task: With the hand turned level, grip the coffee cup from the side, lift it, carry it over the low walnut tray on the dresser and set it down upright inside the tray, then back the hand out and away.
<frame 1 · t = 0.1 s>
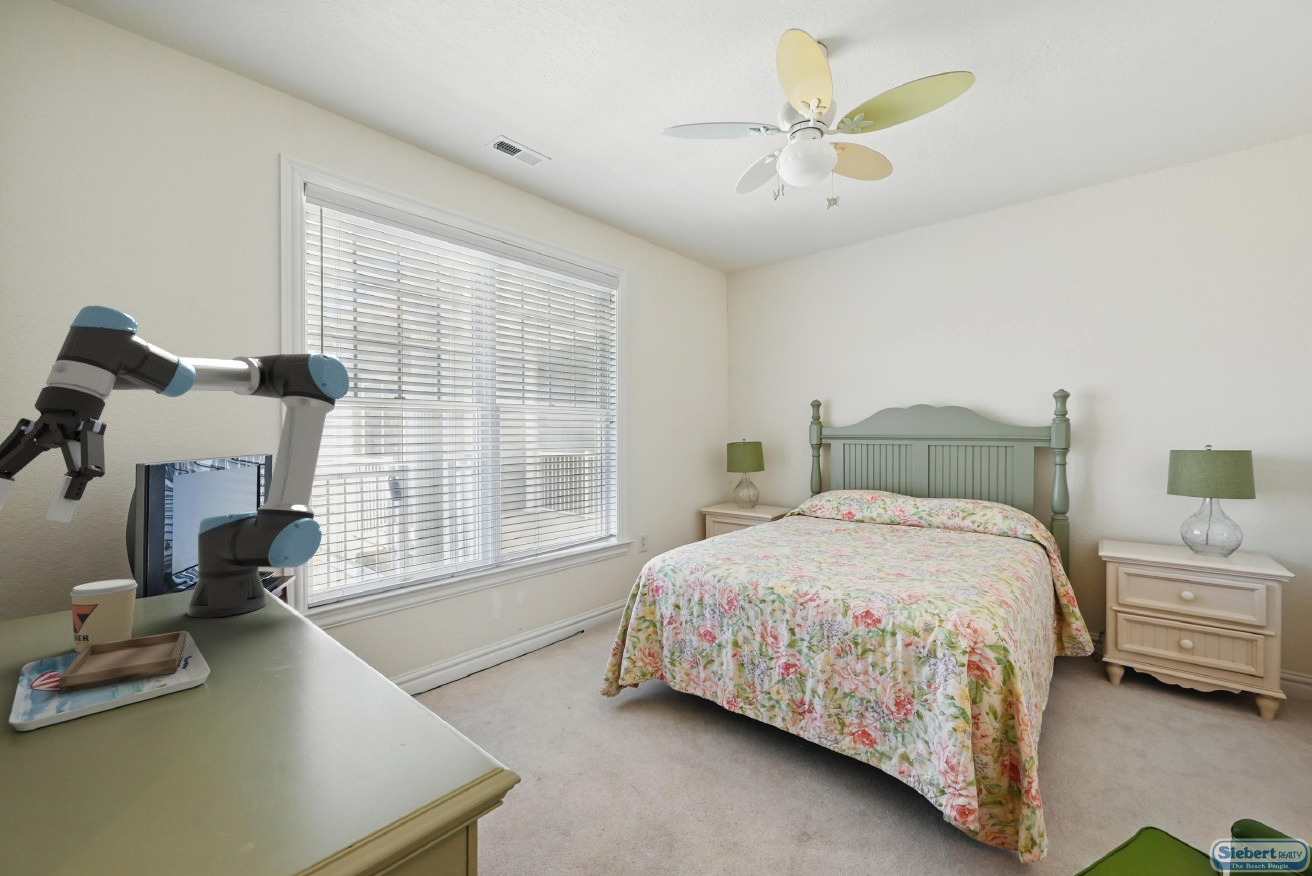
hand: (19, 520, 84), 28 cm above the dresser, tool tilted 20°, fingers open, 13 cm apart
coffee cup: (103, 646, 108), on the dresser
walnut tray: (129, 665, 98), on the dresser
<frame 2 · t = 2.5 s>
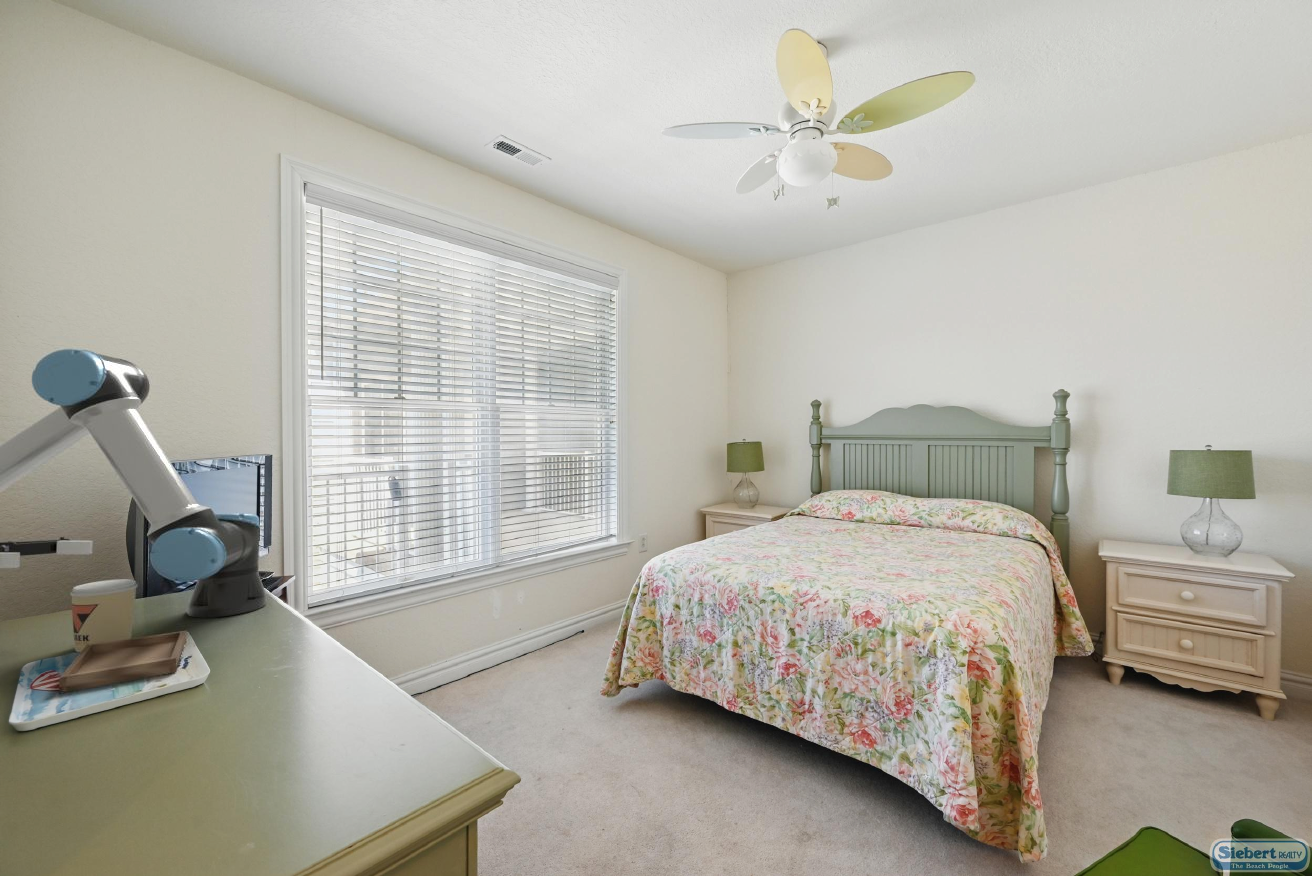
hand: (56, 553, 108), 18 cm above the dresser, tool horizontal, fingers open, 13 cm apart
nothing on the dresser moved.
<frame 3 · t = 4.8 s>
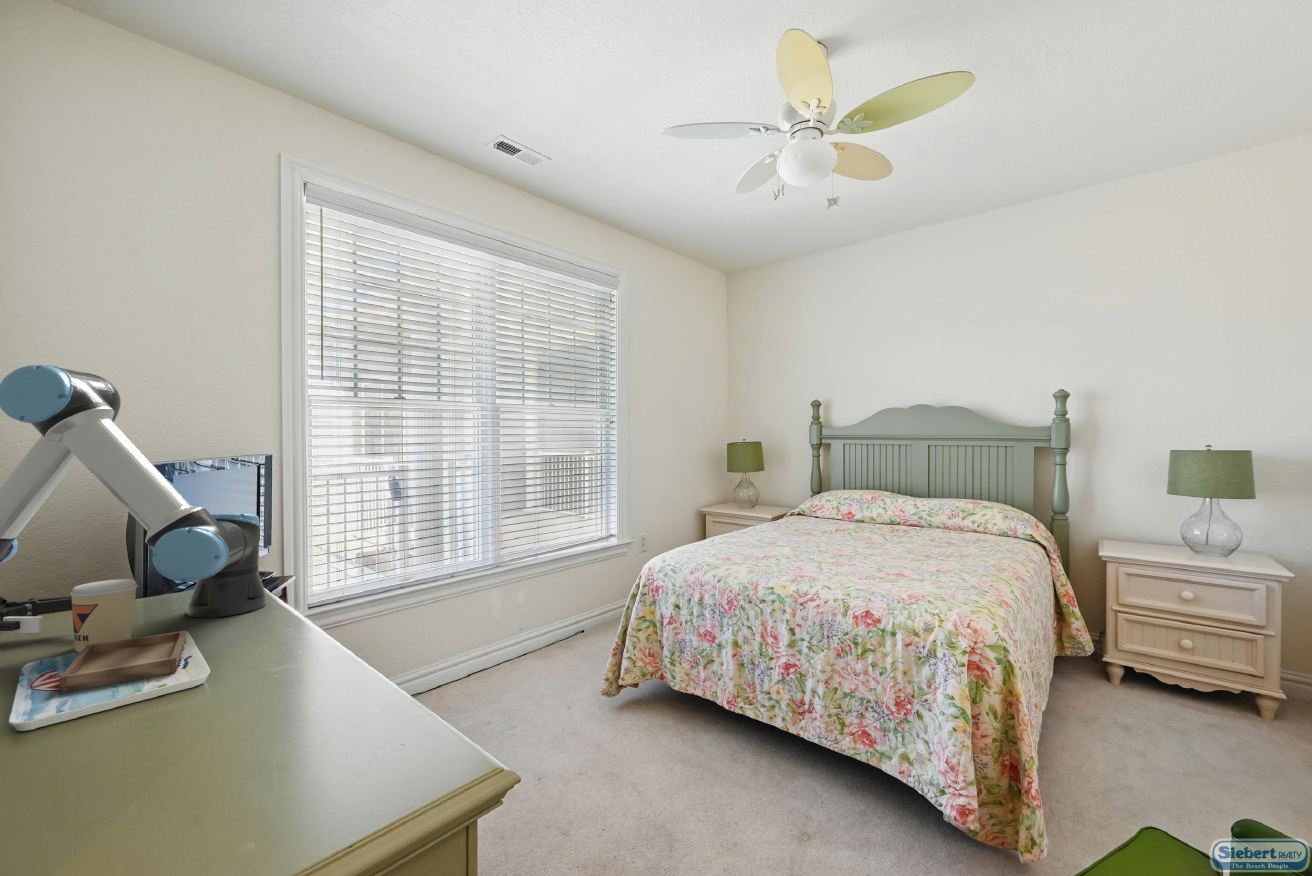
hand: (79, 613, 108), 6 cm above the dresser, tool horizontal, fingers open, 13 cm apart
nothing on the dresser moved.
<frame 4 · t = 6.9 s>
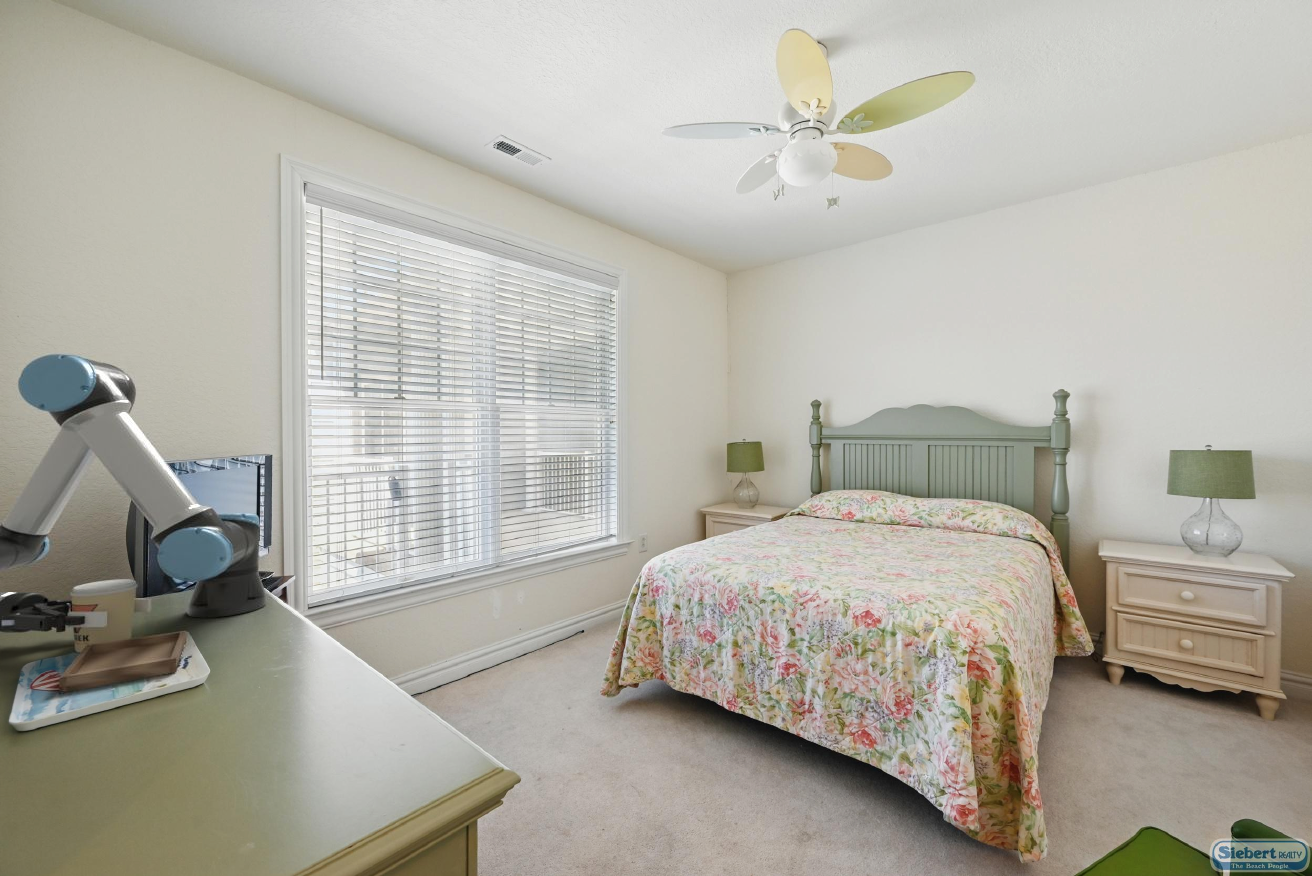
hand: (128, 611, 109), 7 cm above the dresser, tool horizontal, fingers closed on coffee cup, 9 cm apart
coffee cup: (103, 646, 108), on the dresser, touching gripper
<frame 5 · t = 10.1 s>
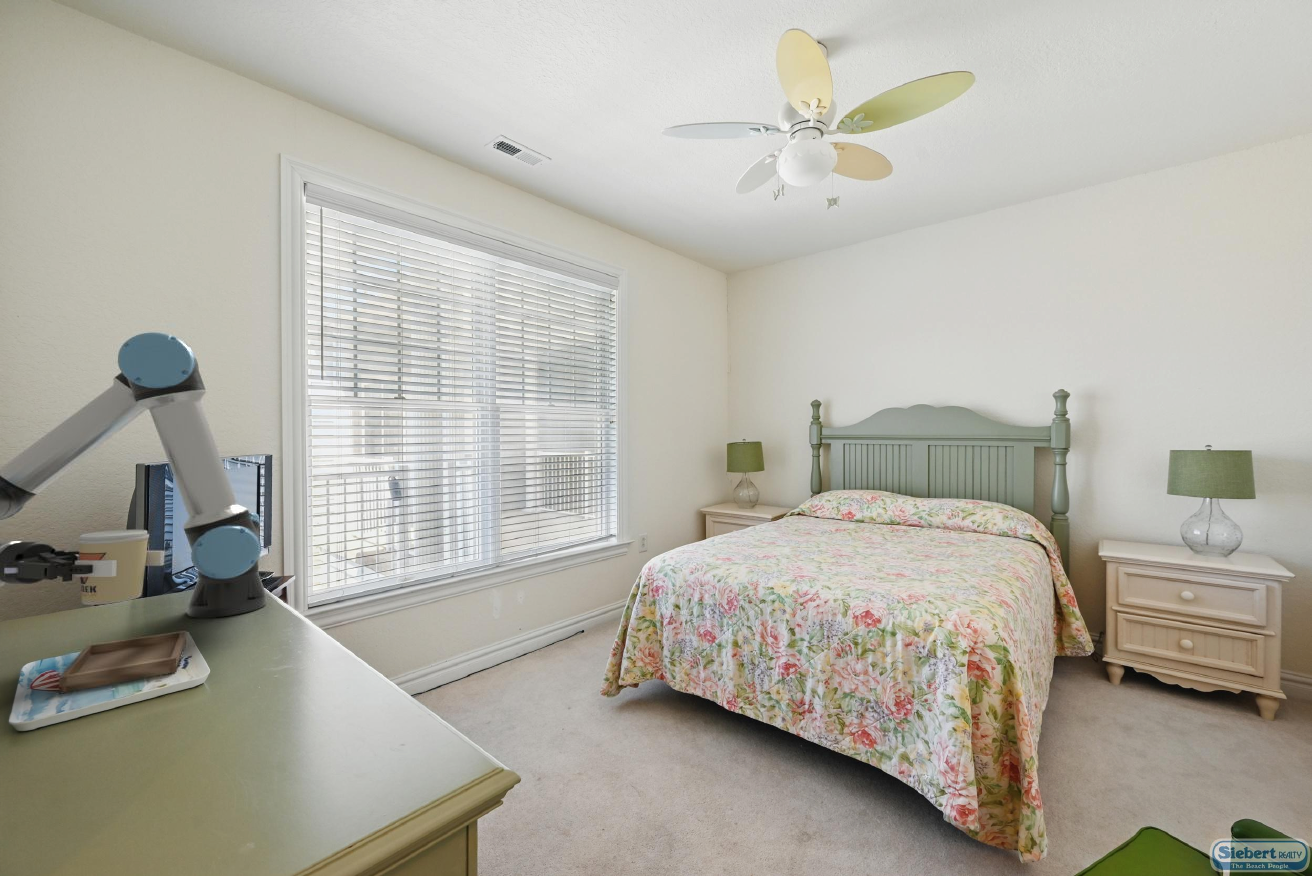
hand: (139, 563, 100), 18 cm above the dresser, tool horizontal, fingers closed on coffee cup, 9 cm apart
coffee cup: (112, 600, 100), point 11 cm above the dresser, touching gripper
when the fingers open (9 cm above the dresser, at t = 13.1 s): coffee cup drops 1 cm, resting on walnut tray.
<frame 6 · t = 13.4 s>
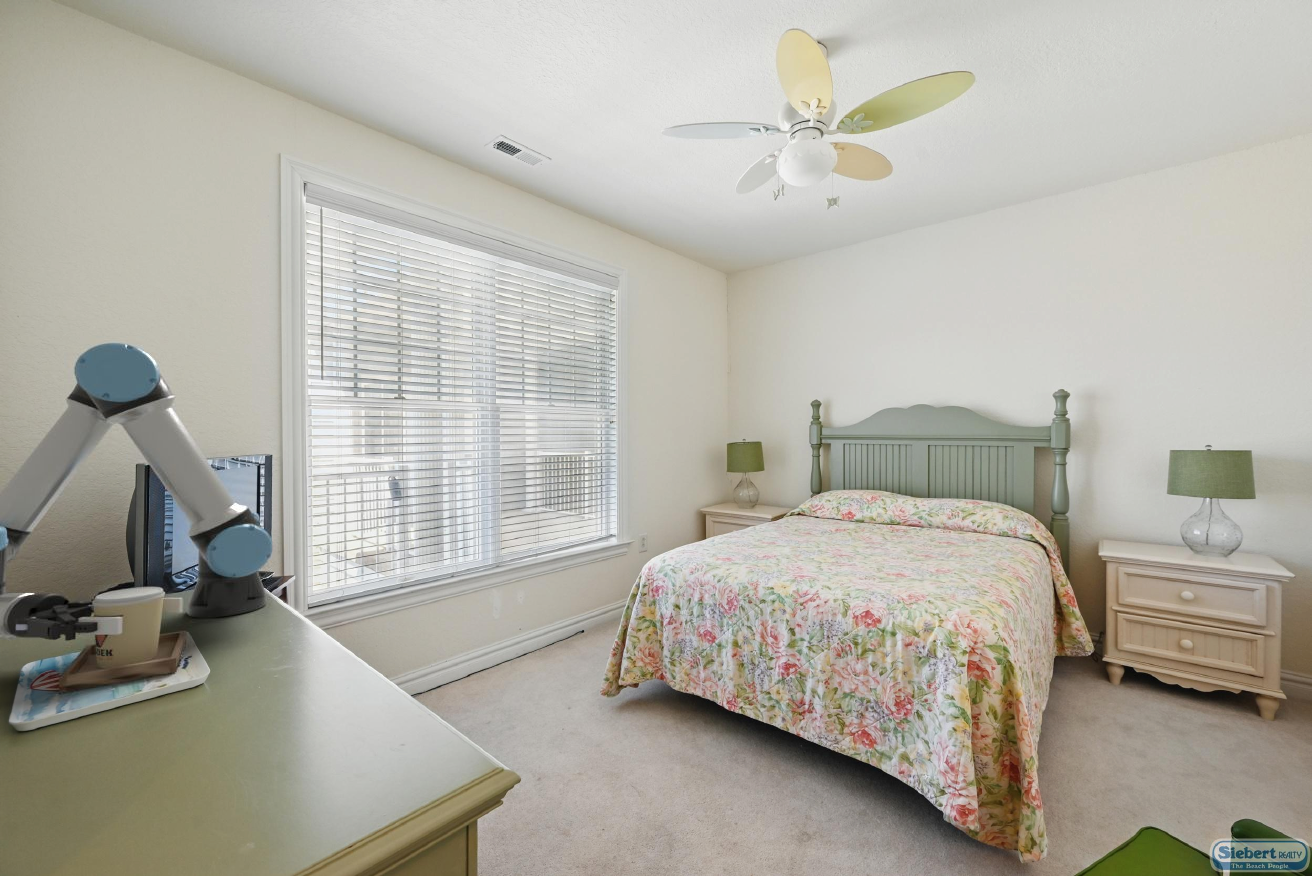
hand: (152, 614, 99), 9 cm above the dresser, tool horizontal, fingers open, 11 cm apart
coffee cup: (127, 661, 98), point 1 cm above the dresser, touching walnut tray
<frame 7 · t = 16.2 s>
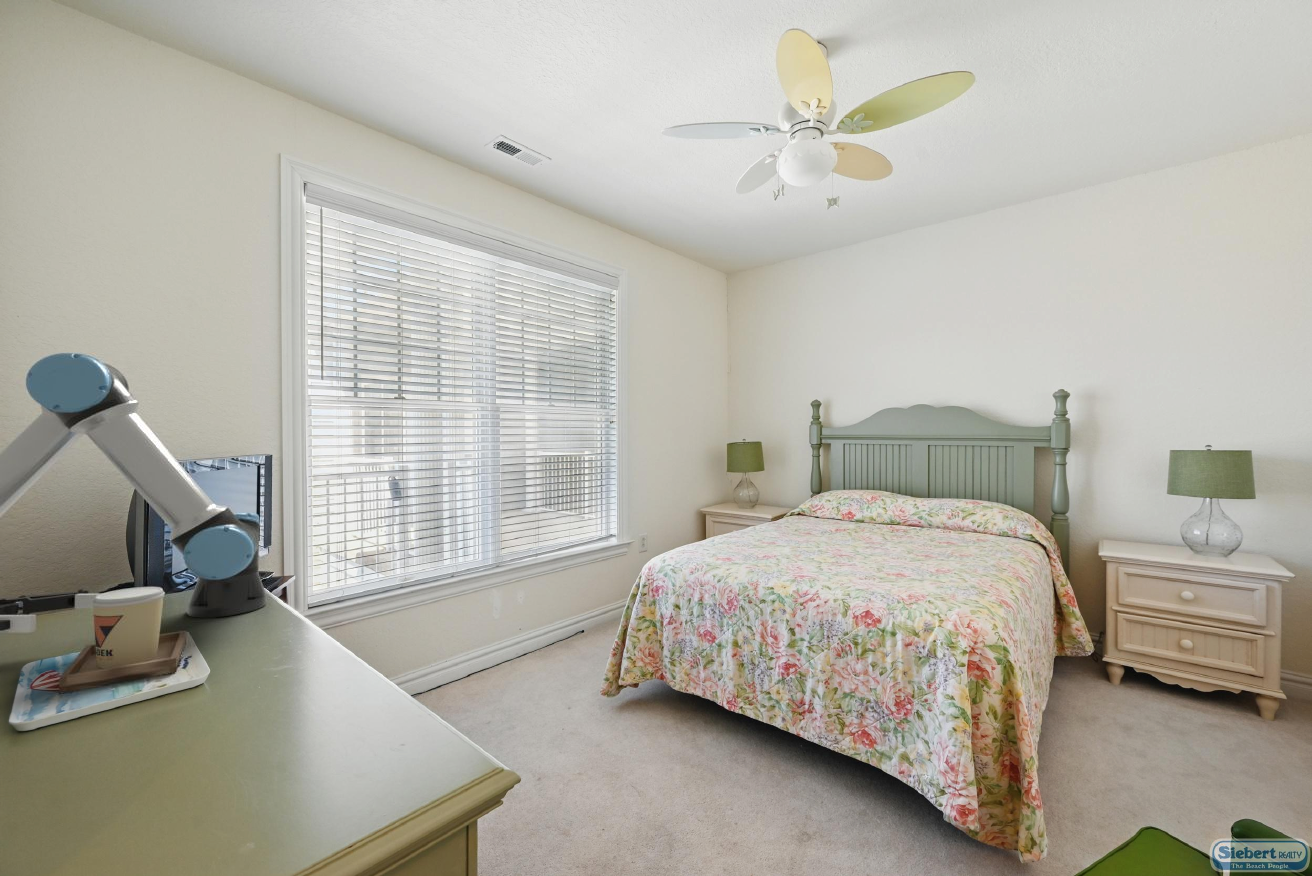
hand: (75, 611, 99), 10 cm above the dresser, tool horizontal, fingers open, 13 cm apart
nothing on the dresser moved.
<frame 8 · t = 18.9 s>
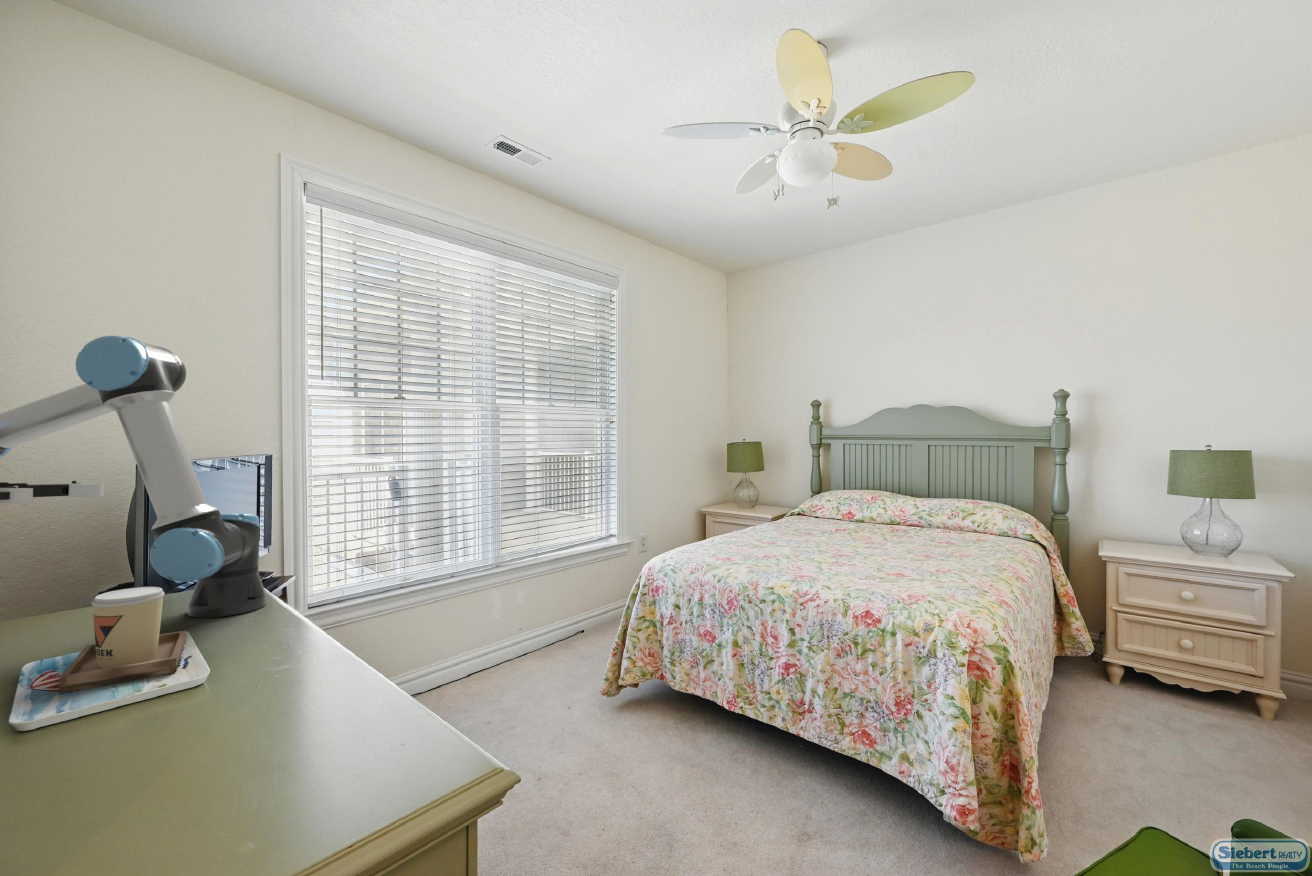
hand: (68, 492, 109), 30 cm above the dresser, tool horizontal, fingers open, 13 cm apart
nothing on the dresser moved.
at the end: coffee cup inside the target area on the walnut tray (0.3 cm from its centre), point 0.8 cm above the walnut tray's base; coffee cup tilted 0°; the gripper is holding nothing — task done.
